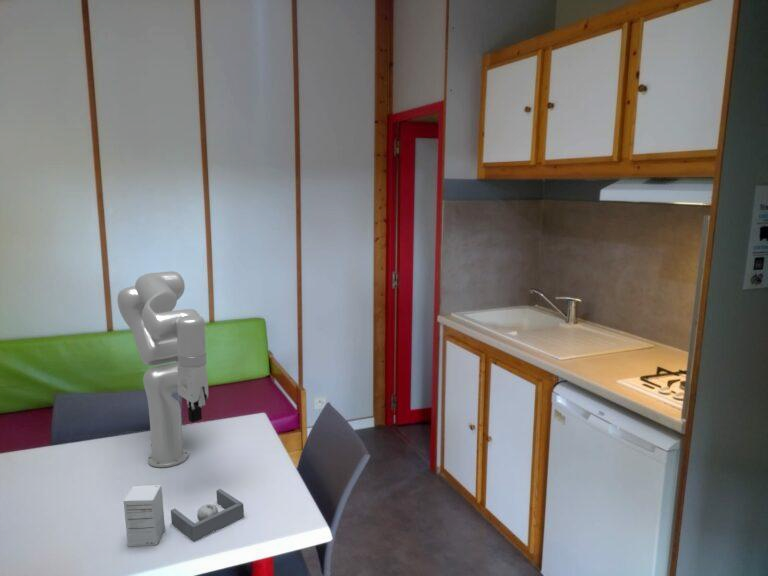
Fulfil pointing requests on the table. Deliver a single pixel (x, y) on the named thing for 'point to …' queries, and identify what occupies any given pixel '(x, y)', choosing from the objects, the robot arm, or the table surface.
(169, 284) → the robot arm
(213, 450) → the table surface
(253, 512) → the table surface
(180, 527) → the box
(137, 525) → the supplement box
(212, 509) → the garlic
